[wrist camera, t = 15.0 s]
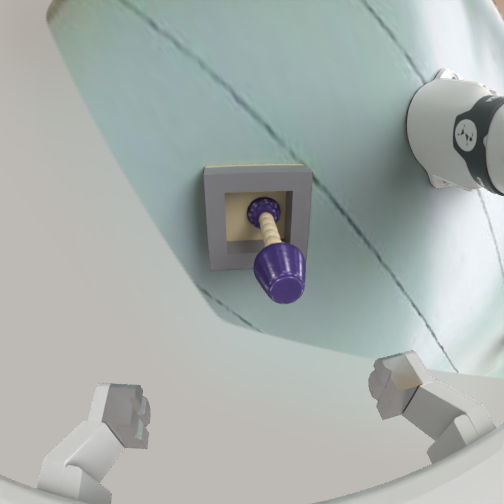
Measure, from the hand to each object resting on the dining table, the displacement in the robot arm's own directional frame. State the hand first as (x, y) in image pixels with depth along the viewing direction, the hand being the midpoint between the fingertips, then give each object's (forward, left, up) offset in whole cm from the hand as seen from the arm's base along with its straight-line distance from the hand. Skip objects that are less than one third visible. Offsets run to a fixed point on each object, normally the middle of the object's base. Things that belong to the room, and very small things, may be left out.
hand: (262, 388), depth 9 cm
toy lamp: (-4, +5, -30) cm, 31 cm away
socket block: (-3, +5, -31) cm, 31 cm away
